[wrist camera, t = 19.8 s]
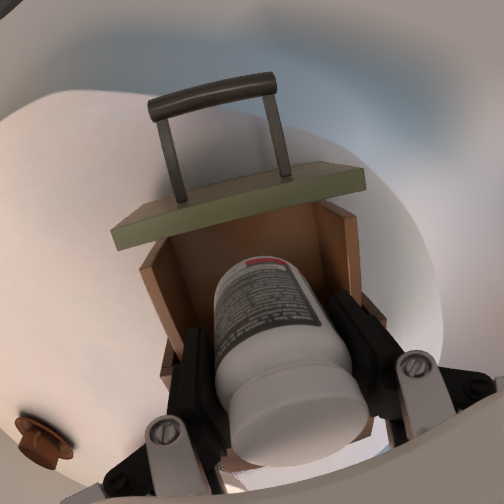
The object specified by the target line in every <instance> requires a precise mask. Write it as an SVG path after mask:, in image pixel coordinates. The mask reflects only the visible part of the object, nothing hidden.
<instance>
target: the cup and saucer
mask: <svg viewBox="0 0 504 504" xmlns="http://www.w3.org/2000/svg"><path fill="white" fill-rule="evenodd" d="M15 425H16V427H17V429H18V430H19V432H20V433H21V434H22V435H23V437H22V439H21V441H20V443H19V446H18V448H19V450H20V451H21V452H22V453H23V454H24V455H25V456H26V457H27V458H29V459H30V460H32V461H33V462H35V463H36V464H38V465H40V466H42V467H44V468H47V469H50V470H55V469H56V465H57V462H58V458H61V459H67V460H69V459H72V458H73V451H72V449H71V448H70V446H69V445H68V444H67V442H66V441H65V440H64V439H63V438H61V437H60V436H59V435H58V434H57V433H55V432H54V431H52V430H51V429H50V428H48V427H46V426H45V425H43V424H41V423H39V422H37V421H35V420H32V419H29V418H25V417H20V418H17V419H16V420H15Z"/></svg>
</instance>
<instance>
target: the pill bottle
mask: <svg viewBox="0 0 504 504" xmlns="http://www.w3.org/2000/svg"><path fill="white" fill-rule="evenodd" d="M351 375H352V359H351V355H350V352H349V350H348V348H347V346H346V344H345V342H344V340H343V339H342V337H341V336H340V334H339V333H338V331H337V329H336V328H335V326H334V325H333V323H332V321H331V320H330V318H329V317H328V315H327V313H326V312H325V310H324V309H323V307H322V305H321V304H320V302H319V301H318V299H317V297H316V296H315V294H314V293H313V291H312V289H311V288H310V286H309V284H308V283H307V281H306V279H305V277H304V276H303V275H302V273H301V272H300V271H299V270H298V269H297V268H296V267H295V266H294V265H292V264H291V263H289V262H287V261H286V260H283V259H281V258H277V257H272V256H257V257H252V258H249V259H246V260H243V261H241V262H239V263H238V264H236V265H235V266H233V267H232V268H231V269H230V270H229V271H227V272H226V273H225V275H224V276H223V277H222V278H221V280H220V282H219V283H218V286H217V288H216V292H215V297H214V379H215V388H216V394H217V397H218V399H219V402H220V403H221V405H222V406H223V408H224V409H225V410H226V411H227V412H228V416H229V421H230V434H231V443H232V447H233V450H234V451H235V453H236V454H237V455H238V456H239V457H240V458H241V459H243V460H245V461H247V462H249V463H252V464H255V465H259V466H265V467H289V466H297V465H301V464H306V463H310V462H313V461H316V460H319V459H322V458H324V457H327V456H329V455H331V454H333V453H335V452H337V451H339V450H340V449H342V448H343V447H345V446H346V445H348V444H349V443H350V442H352V441H353V440H354V439H355V438H356V437H357V436H358V435H359V434H360V433H361V432H362V430H363V429H364V427H365V426H366V424H367V421H368V418H369V410H368V406H367V404H366V402H365V400H364V398H363V396H362V394H361V391H360V389H359V386H358V384H357V381H356V380H355V379H354V377H353V376H351Z"/></svg>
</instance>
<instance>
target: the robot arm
mask: <svg viewBox="0 0 504 504" xmlns="http://www.w3.org/2000/svg"><path fill="white" fill-rule="evenodd" d="M328 303H329V314H330V320H331V321H332V323H333V325H334V326H335V328H336V329H337V331H338V333H339V334H340V336H341V337H342V339H343V340H344V342H345V344H346V346H347V348H348V350H349V352H350V355H351V359H352V375H351V376H353V377H354V379H355V380H356V381H357V384H358V386H359V389H360V391H361V394H362V396H363V398H364V400H365V402H366V404H367V406H368V410H369V414H370V416H371V418H373V417H375V416H378V415H379V417H380V418H383V419H385V422H386V428H387V434H388V440H389V446H390V450H389V451H387V452H385V453H382V454H380V455H378V456H375V457H373V458H370V459H368V460H365V461H363V462H360V463H358V464H355V465H352V466H349V467H346V468H344V469H341V470H338V471H334V472H331V473H328V474H325V475H321V476H318V477H314V478H311V479H307V480H303V481H299V482H295V483H290V484H286V485H281V486H276V487H271V488H266V489H260V490H254V491H247V492H239V493H231V494H228V491H227V489H226V487H225V484H224V482H223V480H222V477H221V475H220V472H219V470H218V467H217V464H218V463H219V462H220V461H221V457H226V456H227V449H231V437H230V424H229V416H228V412H227V411H226V410H225V409H224V408H223V406H222V405H221V403H220V402H219V399H218V397H217V394H216V388H215V379H214V348H213V345H212V343H211V340H210V338H209V335H208V333H207V331H206V330H202V329H201V328H200V327H198V328H193V329H188V330H186V333H185V340H184V347H183V355H182V362H181V363H180V364H175V365H174V367H173V372H172V379H171V385H170V392H169V400H168V407H167V415H164V416H160V417H158V418H156V419H154V420H153V421H152V422H150V424H149V425H148V426H147V428H146V431H145V441H146V443H145V444H144V445H143V446H141V447H140V448H139V449H138V450H136V451H135V452H134V453H132V454H131V455H130V456H129V457H127V458H126V459H125V460H123V461H122V462H121V463H119V464H118V465H117V466H115V467H114V468H113V469H111V470H110V471H109V472H108V473H107V474H106V476H105V477H104V480H103V483H102V484H100V483H98V482H97V483H95V484H94V485H92V486H90V487H88V488H86V489H84V490H82V491H80V492H78V493H76V494H74V495H72V496H70V497H67V498H65V499H64V500H63V501H61V503H60V504H504V376H503V377H502V376H501V377H495V379H494V380H492V379H491V378H490V377H489V376H487V375H486V374H484V373H480V372H473V371H465V370H458V369H450V368H444V367H438V366H437V364H436V361H435V359H434V358H433V357H432V356H431V355H430V354H429V353H427V352H424V351H421V350H412V351H408V352H404V351H403V349H402V348H401V347H400V346H399V344H398V343H397V342H396V341H395V340H394V338H393V337H392V336H391V335H390V333H389V332H388V331H387V330H386V329H385V327H384V326H383V325H382V324H381V322H380V321H379V320H378V319H377V318H376V317H375V316H374V315H373V314H370V315H367V314H366V313H365V312H364V311H363V309H362V308H361V307H360V306H359V304H358V303H357V302H356V301H355V300H354V298H353V297H352V296H351V295H350V294H349V292H348V291H347V290H342V291H339V292H336V293H333V294H332V297H331V298H329V299H328Z"/></svg>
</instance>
